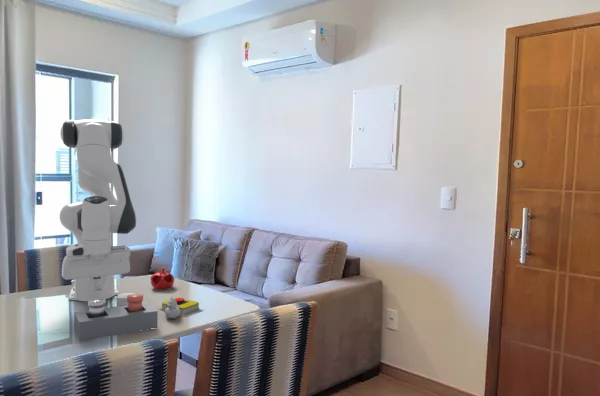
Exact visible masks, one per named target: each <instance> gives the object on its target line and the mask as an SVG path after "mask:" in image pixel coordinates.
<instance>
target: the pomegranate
mask: <svg viewBox="0 0 600 396" xmlns="http://www.w3.org/2000/svg"><path fill="white" fill-rule="evenodd" d="M165 268H166V267H162V270H161V269H157V270H156V271H155V272H153V274H152V275H151V276H150V284H151V286H152V288H154V289H155V290H157V291H158V290H159V291H162V290H169V289H171V288H172V287H173V286H174V283H175V277H174V275H173V274H172V273H169V272H171V270H166V269H165Z"/></svg>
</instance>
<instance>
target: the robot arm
mask: <svg viewBox="0 0 600 396" xmlns="http://www.w3.org/2000/svg"><path fill="white" fill-rule="evenodd" d="M124 138H125V132H124V129H123V126H122V124H120V122H118V121H113V120H111V121H109V120H102V119H78V120H75V119H68V120H66V121H64V122H63V124H62V126H61V128H60V139H61V140H62V142H63V145H65V146H66V147H68V148H70V149H71V148H72V149H76V159H77V168H78V170H77V171H78V172H77V174H78V175H77V178H78V179H77V181H78V186H79V188H80V189H81V190H83V191H84V192H85V193H88V194H89V195H90V196H88V197H85V198H84V199H83V201H76V202H71V203H68V204H65V205H64V206H63V207H62V208H61V210H60V213H59V221H60V223H61V225H62V226H63V227H64V228H65V229H66V230H68V231H69V232H71V233H72V234H73V236H74V237H75V239H76V242H77V243H75V244H72V245H70V246H67V247H65V254H66V255H65V256H64V257H63V261H62V263H61V264H62V266H61V277H62V278H63V279H64V280H66V281H69V280H70V281H71V286H72V288H71V290H70V292H69V295H68V300H69V301H79V302H88V301H89V300H91V299H97V298H102V299H105V300H107V299H111V298H113V297H114V296H118V294H120V292H119V290H117V289H116V286H115V276H116V275H117V276H118V275H125V274H129V272H131V263H130V262H131V261H130V257H131V248H130V247H128V246H126V245H112V235H111V234H119V235H120V234H121V235H122V234H124V235H128V234H129V233H130V232H132V231H133V230H134V229H135V228H136V226H137V215H136V212H135V209H134V206H133V203H132V199H131V197H130V193H129V187H128V184H127V182H126V181H127V180H126V177H125V174H124V171H123V167H122V166H121V164H119V163H117V162H115V160H114V158H113V157H112V155H111V153H112V152H113V151H114V150H116V149H118V148H120V146H122V144H123V142H124ZM110 184H111V185H112V186H113V188H114V191H115V195H116V197H115V196H114V193H113V192H112V190H111V187H110Z"/></svg>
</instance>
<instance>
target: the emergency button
mask: <svg viewBox="0 0 600 396" xmlns="http://www.w3.org/2000/svg"><path fill="white" fill-rule="evenodd" d="M174 299H175V300H176V301H177V305H179V309H180V315H179V316H183V315H184V316H183V317H190V316H193V315H195V314H197V313H200V312H201V313H202V312H203V311H204V309H202V308H200V305H199V304H200V302H199V301H196V300H190V299H187V298H183V297H175V298H173V300H174ZM168 302H169V300H166V301H163V302H162V303H161V307H160V308H161V310H160V311H163V310H164V312H165V310H166V308H168Z"/></svg>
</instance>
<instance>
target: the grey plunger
mask: <svg viewBox="0 0 600 396" xmlns="http://www.w3.org/2000/svg"><path fill="white" fill-rule="evenodd" d="M106 300H107V299H102V298H97V299H91V300H89V301H87V306H88V308H89V310H90V317H91V318H95V317H102V316H104V308H105V306H106V305H107V304H106V303H107V302H106Z"/></svg>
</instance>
